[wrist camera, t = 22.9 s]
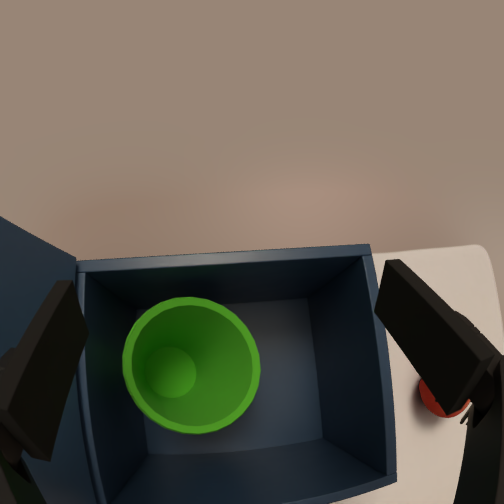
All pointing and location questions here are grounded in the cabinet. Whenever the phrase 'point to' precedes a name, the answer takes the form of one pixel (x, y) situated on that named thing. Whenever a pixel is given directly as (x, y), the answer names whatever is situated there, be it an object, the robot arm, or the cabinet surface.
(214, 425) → the cup
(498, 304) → the cabinet surface
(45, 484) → the lid
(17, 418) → the robot arm
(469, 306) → the cabinet surface
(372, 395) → the box
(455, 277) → the cabinet surface
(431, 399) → the apple
